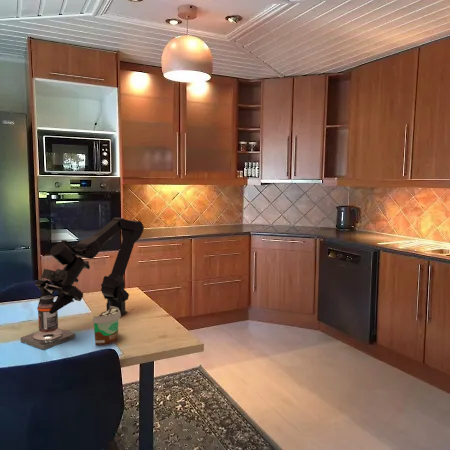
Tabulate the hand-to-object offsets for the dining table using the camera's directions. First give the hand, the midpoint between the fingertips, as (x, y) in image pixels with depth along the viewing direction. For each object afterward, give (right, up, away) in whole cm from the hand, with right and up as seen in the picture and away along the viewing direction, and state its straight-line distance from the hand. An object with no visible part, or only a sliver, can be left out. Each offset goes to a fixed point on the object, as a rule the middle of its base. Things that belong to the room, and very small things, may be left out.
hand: (44, 311), depth 135 cm
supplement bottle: (+1, -7, +2) cm, 7 cm away
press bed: (0, -10, +2) cm, 10 cm away
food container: (+21, -10, +3) cm, 24 cm away
